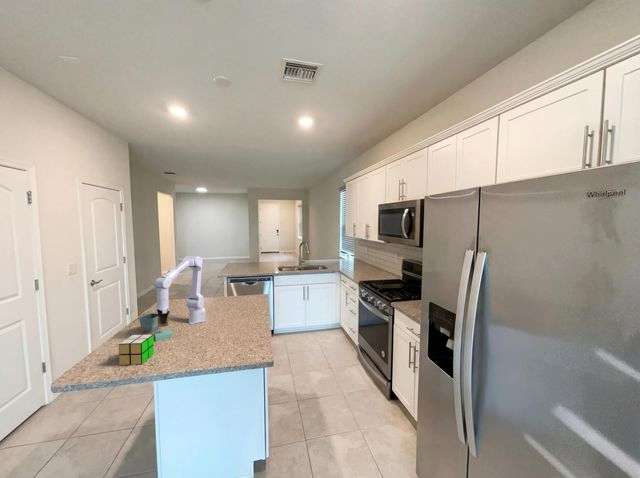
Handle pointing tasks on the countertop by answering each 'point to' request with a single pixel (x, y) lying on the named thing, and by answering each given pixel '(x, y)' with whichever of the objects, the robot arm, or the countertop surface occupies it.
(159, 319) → the walnut block
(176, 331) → the countertop surface
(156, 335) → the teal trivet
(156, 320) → the flower pot
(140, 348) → the puzzle cube
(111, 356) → the countertop surface
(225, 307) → the countertop surface
